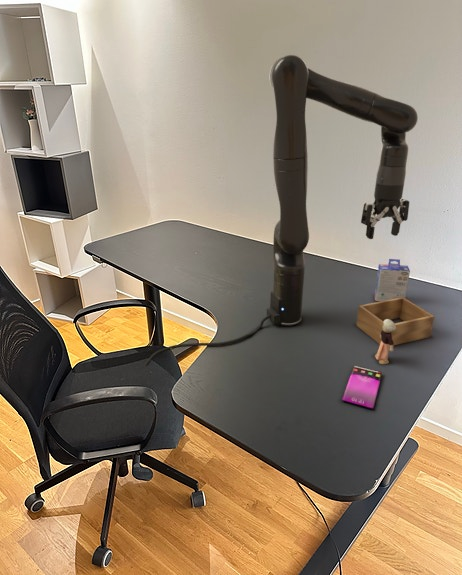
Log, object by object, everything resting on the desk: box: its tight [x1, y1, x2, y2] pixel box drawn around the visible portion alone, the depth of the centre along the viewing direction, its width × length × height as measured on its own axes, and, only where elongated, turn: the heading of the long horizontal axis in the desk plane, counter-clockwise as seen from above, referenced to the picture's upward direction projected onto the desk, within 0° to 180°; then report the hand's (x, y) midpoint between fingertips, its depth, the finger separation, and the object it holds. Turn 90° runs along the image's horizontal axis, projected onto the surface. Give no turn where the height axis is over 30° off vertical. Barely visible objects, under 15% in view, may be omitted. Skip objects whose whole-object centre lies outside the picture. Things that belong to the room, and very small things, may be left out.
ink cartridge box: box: [374, 258, 411, 302], centre depth 151 cm, size 10×6×14 cm, turn 79°
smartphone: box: [341, 365, 383, 410], centre depth 109 cm, size 7×15×1 cm, turn 155°
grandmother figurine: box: [374, 319, 396, 365], centre depth 117 cm, size 8×4×13 cm, turn 15°
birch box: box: [355, 297, 435, 347], centre depth 133 cm, size 17×14×7 cm
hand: (382, 236), depth 129 cm, fingers open, 8 cm apart
